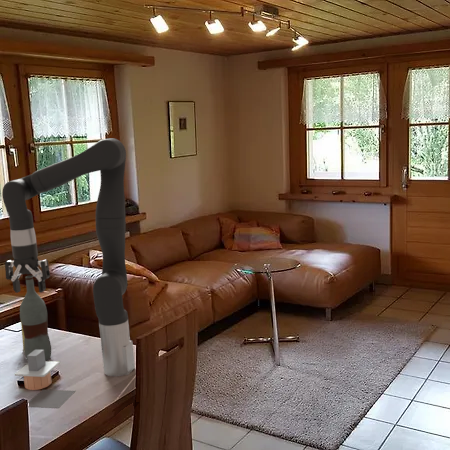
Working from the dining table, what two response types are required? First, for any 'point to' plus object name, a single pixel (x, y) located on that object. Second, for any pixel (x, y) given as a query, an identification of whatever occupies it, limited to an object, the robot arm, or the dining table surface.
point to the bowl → (37, 382)
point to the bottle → (34, 322)
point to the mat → (50, 398)
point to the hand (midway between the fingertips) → (29, 291)
